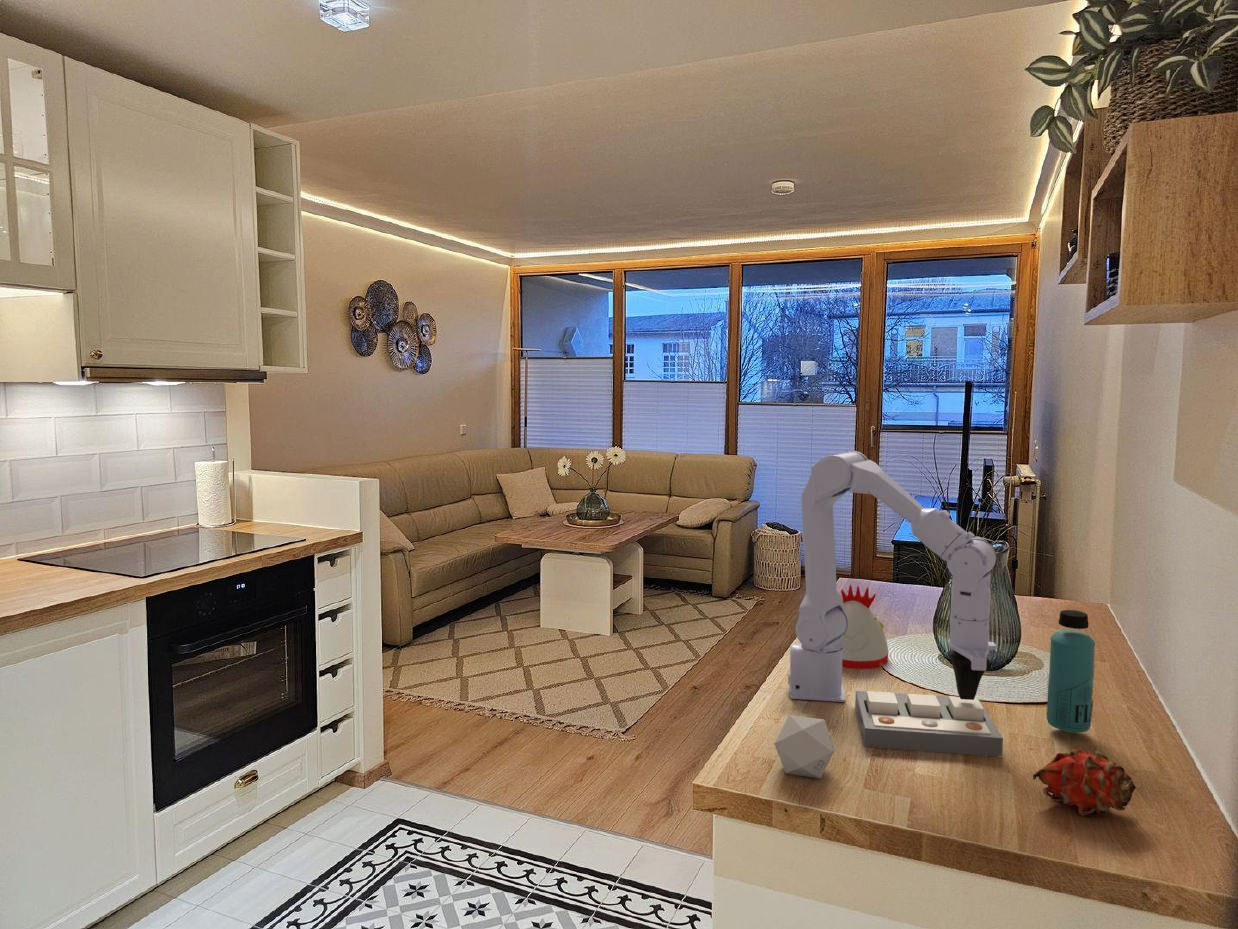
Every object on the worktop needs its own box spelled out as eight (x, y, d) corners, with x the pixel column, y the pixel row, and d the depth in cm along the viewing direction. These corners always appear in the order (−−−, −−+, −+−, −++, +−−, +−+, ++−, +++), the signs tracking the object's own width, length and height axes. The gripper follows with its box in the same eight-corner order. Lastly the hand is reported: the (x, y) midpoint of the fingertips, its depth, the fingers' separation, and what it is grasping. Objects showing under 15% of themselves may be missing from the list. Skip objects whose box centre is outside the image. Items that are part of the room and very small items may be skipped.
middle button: (911, 716, 131) (911, 704, 131) (906, 705, 135) (907, 693, 135) (940, 718, 130) (940, 706, 130) (934, 707, 135) (935, 695, 134)
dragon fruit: (1142, 834, 105) (1038, 826, 111) (1130, 772, 111) (1032, 767, 116) (1142, 801, 100) (1034, 794, 106) (1130, 739, 106) (1028, 735, 112)
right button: (953, 719, 130) (954, 707, 130) (948, 707, 134) (948, 696, 134) (983, 721, 129) (983, 709, 129) (976, 709, 133) (977, 698, 133)
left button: (869, 713, 132) (869, 701, 132) (866, 702, 137) (866, 691, 136) (897, 715, 132) (897, 703, 131) (893, 704, 136) (894, 692, 136)
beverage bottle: (1074, 745, 127) (1081, 620, 124) (1035, 729, 132) (1041, 609, 130) (1100, 736, 130) (1108, 614, 127) (1060, 721, 135) (1067, 604, 133)
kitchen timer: (886, 673, 158) (888, 597, 156) (813, 664, 162) (815, 591, 160) (888, 649, 170) (891, 579, 169) (821, 642, 175) (823, 574, 173)
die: (807, 797, 113) (847, 741, 113) (756, 755, 117) (796, 700, 117) (812, 790, 121) (851, 737, 121) (765, 751, 124) (802, 700, 124)
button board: (864, 746, 127) (865, 726, 126) (855, 707, 141) (855, 688, 141) (1002, 757, 123) (1003, 736, 123) (977, 715, 138) (978, 696, 137)
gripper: (1009, 631, 122) (1005, 718, 123) (985, 604, 136) (981, 682, 138) (959, 629, 123) (956, 715, 125) (940, 602, 137) (937, 680, 139)
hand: (966, 698), depth 131 cm, fingers closed
